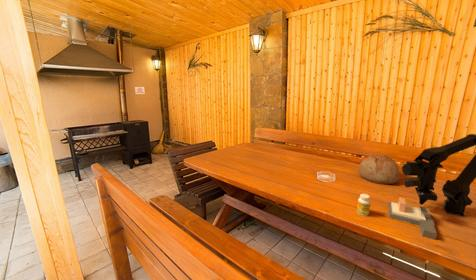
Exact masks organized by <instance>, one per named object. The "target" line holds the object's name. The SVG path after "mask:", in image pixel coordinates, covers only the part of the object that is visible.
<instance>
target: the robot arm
mask: <svg viewBox="0 0 476 280" xmlns="http://www.w3.org/2000/svg"><path fill="white" fill-rule="evenodd" d="M474 146H475V147H476V134H474V133H470V134H466V136H464V137H462V138H459V139H457V140H454V141H452V142H449V143H446V144H444V145H442V146H434V147H429V148H425V149H423V150H422V151H421V152H420V154H419V155H417V157H416V158H415V159H414V160H413V161H406V163H404V164H403V165H402V167H401V172H402V174H403V175H405V176H411V177H404V178H402V181H403V183H404V187H405V188H410V187H411V188H412V187H413V188H414V189H415V191H416V194H417V195H418V202H419V205H424V204H426V203H427V201H433V202H437V201H438V195H437V193H435V183H437V179H436V178H437V173H438V169H442V168H443V169H444V165H442V163H443V162H445V161H446V160H448V158H449V157H450V156H452V155H454V154H457V153H460V152H462V151H464V150H467V149H470V148H472V147H474ZM415 176H416V177H415ZM475 180H476V153H475V154H474V156H473V157H472V158H471V159H470V161H469V162H468V163H467V164H466V165H465V167H464V169H463V170H462V171H461V172H460V173H459V174H458V176H457V177H456V178H455V179H452V180H450V179H447V180H446V181H445V182H444V184H443V185H442V189H441V191H442V193H443V196H444V197H446V199H444V201H443V205H442V207H443V210H444V211H445V212H446V213H448V214H452V215H456V216H460V217H466V215H465V210H466V207H468V206H471V204H472V203H473V202H474V201H473V200H472V199H471V198H470V197H469V194H470V193H471V188H470V187H471V185H472V184H473V182H474V181H475Z"/></svg>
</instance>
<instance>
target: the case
mask: <svg viewBox="0 0 476 280" xmlns="http://www.w3.org/2000/svg"><path fill="white" fill-rule="evenodd" d="M387 208H388V218H390V219H393V220H397V221H401V222H405V223H408V224H413V225H416V226H419V230H420V233H421V236H422V237H424V238H427V239H432V240H436V238H437V231H436V228H435V227H436V224H435V222H434V219H433V217H432V215H431V214H430V217H425V219H426V221H424V220H416V219H412V218H408V217H404V216H400V215H396V214H392V207H391V202H388V205H387Z"/></svg>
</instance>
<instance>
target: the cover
mask: <svg viewBox="0 0 476 280" xmlns="http://www.w3.org/2000/svg"><path fill="white" fill-rule="evenodd" d="M390 203H391V207H392V214H396V215H400V216H404V217H408V218H412V219H416V220H424V221H426V219H425V216H421V215H420V212H419V207H415V206H410V205H407V203H406V199H405V198H404V197H399V198H398V202H393V201H392V202H390Z"/></svg>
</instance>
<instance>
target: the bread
mask: <svg viewBox="0 0 476 280" xmlns="http://www.w3.org/2000/svg"><path fill="white" fill-rule="evenodd" d="M358 174H359V175H360V177H362V178H363V179H364V180H366V181H369V182H371V183H375V184H379V185H394V184H396V183H397V182H398V181H399V180H400V178H401V172H400V169H399V166H398V164H397V163H396V161H395V160H394V159H393V158H391V157H390V156H387V155H379V154H372V155H370V156H368V157H366V158H365V159H363V160H361V162H360V163H359V166H358Z"/></svg>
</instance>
